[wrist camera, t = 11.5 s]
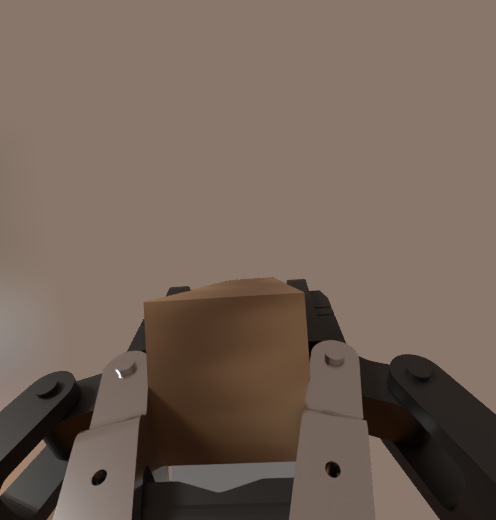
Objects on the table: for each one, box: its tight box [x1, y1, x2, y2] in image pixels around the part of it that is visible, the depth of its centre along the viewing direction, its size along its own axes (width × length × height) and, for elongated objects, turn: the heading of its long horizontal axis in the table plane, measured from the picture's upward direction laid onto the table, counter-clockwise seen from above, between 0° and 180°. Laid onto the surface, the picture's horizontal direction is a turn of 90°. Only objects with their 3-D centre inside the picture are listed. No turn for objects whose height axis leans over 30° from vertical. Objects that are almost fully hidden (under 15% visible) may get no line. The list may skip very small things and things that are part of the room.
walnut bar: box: [144, 277, 311, 466], centre depth 17 cm, size 4×20×4 cm, turn 177°
